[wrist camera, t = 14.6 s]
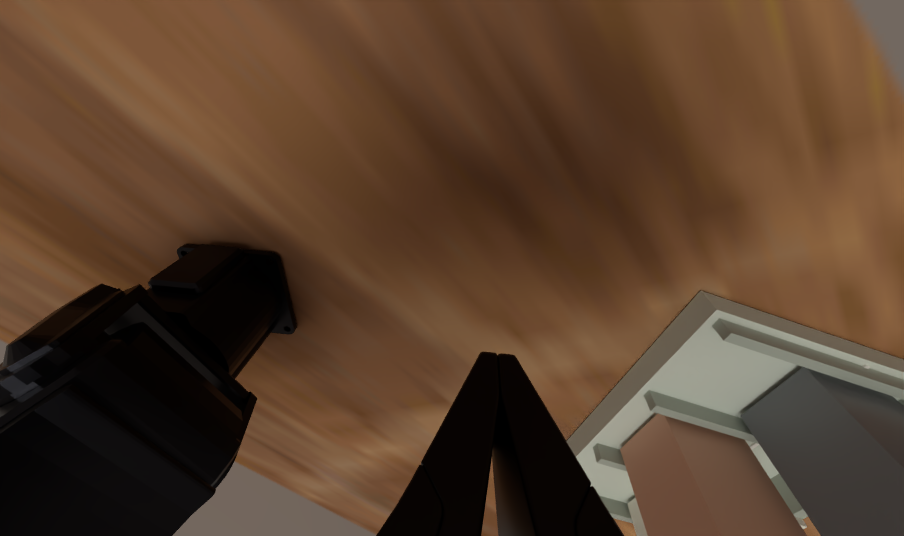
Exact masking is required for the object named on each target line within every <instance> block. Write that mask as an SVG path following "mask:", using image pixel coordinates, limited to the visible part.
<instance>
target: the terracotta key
mask: <svg viewBox="0 0 904 536" xmlns="http://www.w3.org/2000/svg"><path fill="white" fill-rule="evenodd" d="M620 451H621V454H622V457H623V460H624V463H625V466H626V470H627V473H628V476H629V479H630V482H631V485H632V488H633V491H634V494H635V498H636V501H637V504H638V507H639V510H640V513H641V516H642V519H643V523H644V526H645V529H646V532H647V535H648V536H807V535H806V533H805V532H804V530H803V529H802V527H801V526H800V524H799V523H798V521H797V520H796V518H795V516H794V515H793V513H792V512H791V510H790V509H789V507H788V506H787V504H786V503H785V501H784V499H783V498H782V496H781V495H780V493H779V492H778V490H777V489H776V487H775V486H774V484H773V482H772V481H771V479H770V478H769V476H768V475H767V473H766V472H765V470H764V469H763V467H762V465H761V464H760V462H759V461H758V459H757V458H756V456H755V455H754V453H753V452H752V450H751V448H750V447H749V445H748V444H747V442H746V441H745V440H744V439H741V438H737V437H734V436H731V435H728V434H724V433H721V432H718V431H714V430H711V429H708V428H704V427H701V426H698V425H694V424H691V423H688V422H684V421H681V420H678V419H675V418H671V417H668V416H665V415H661V414H657V415H656V416H655V417H654V418H653V419H652V420H650V421H649V422H648V423H647V424H646V425H645V426H644V427H643V428H642V429H641V430H640V431H639V432H638V433H637V434H636V435H635V436H633V437H632V438H631V439H630V440H629V441H628V442H627V443H626V444H625V445H624V446H623V447H622V448H621V449H620Z"/></svg>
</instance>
